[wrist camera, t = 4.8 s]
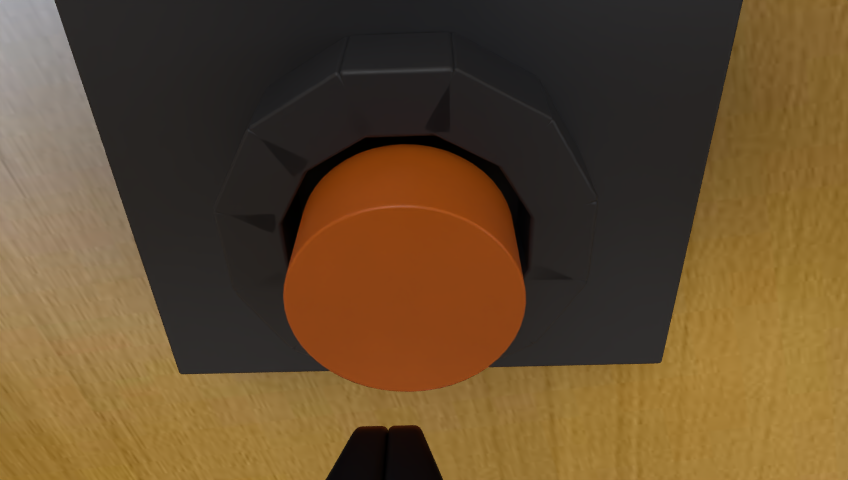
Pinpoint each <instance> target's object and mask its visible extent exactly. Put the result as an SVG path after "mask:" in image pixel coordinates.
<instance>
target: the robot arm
mask: <svg viewBox="0 0 848 480" xmlns="http://www.w3.org/2000/svg"><path fill="white" fill-rule="evenodd" d="M326 480H443V478H442V476H441V474H440V471H439V469H438V467H437V464H436V462H435V460H434V458H433V455H432V453H431V451H430V448H429V446H428V444H427V441H426V439H425V437H424V434H423V432H422V430H421V429H420V427H418V426H416V425H407V426H392V427H391V428H390V429H389V431H388V430H387V428H386V427H383V426H366V427H358V428H357V429H356V430H355V431H354V432H353V434H352V435H351V437H350V439H349V440H348V442H347V444H346V446H345V447H344V449H343V451H342V453H341V454H340V456H339V458H338V459H337V461H336V463H335V465H334V466H333V468H332V470H331V471H330V473H329V475H328V477H327V478H326Z"/></svg>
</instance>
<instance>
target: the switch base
mask: <svg viewBox="0 0 848 480" xmlns="http://www.w3.org/2000/svg"><path fill="white" fill-rule="evenodd" d="M742 2H743V0H55V3H56V6H57V9H58V12H59V15H60V18H61V21H62V24H63V27H64V30H65V33H66V36H67V39H68V42H69V45H70V48H71V51H72V54H73V57H74V60H75V63H76V66H77V69H78V72H79V75H80V78H81V81H82V84H83V87H84V90H85V93H86V96H87V99H88V102H89V104H90V107H91V110H92V113H93V116H94V119H95V122H96V125H97V128H98V131H99V134H100V137H101V140H102V143H103V146H104V149H105V152H106V155H107V158H108V161H109V164H110V167H111V170H112V173H113V176H114V179H115V182H116V185H117V188H118V191H119V194H120V197H121V200H122V203H123V206H124V209H125V212H126V215H127V218H128V221H129V224H130V227H131V230H132V233H133V236H134V239H135V242H136V245H137V248H138V251H139V254H140V257H141V260H142V263H143V266H144V269H145V272H146V275H147V278H148V281H149V284H150V287H151V290H152V292H153V295H154V298H155V301H156V304H157V307H158V310H159V313H160V316H161V319H162V322H163V325H164V328H165V331H166V334H167V337H168V340H169V343H170V346H171V349H172V352H173V355H174V358H175V361H176V364H177V367H178V370H179V373H180V374H213V373H257V372H301V371H330V370H328V369H327V368H325V367H324V366H322V365H321V364H320V363H318V362H317V361H316V360H315V359H314V358H313V357H312V356H310V355H309V354H308V353H307V351H306V350H305V349H304V348H303V347H302V346H301V345H300V343H299V341H298V340H297V338H296V337H295V335H294V334H293V332H292V329H291V327H290V325H289V323H288V320H287V317H286V313H285V310H284V301H283V290H284V282H285V278H286V274H287V270H288V266H289V262H290V259H291V255H292V251H293V248H294V244H295V240H296V237H297V233H298V230H299V226H300V222H301V219H302V215H303V211H304V208H305V205H306V203H307V201H308V198H309V196H310V194H311V193H312V191H313V190H314V188H315V186H316V185H317V184H318V183H319V182H320V180H321V179H322V178H323V177H324V176H325V175H326V174H327V173H328V172H329V171H330V170H332V169H333V168H334V167H335V166H337V165H338V164H340V163H341V162H343V161H344V160H346V159H348V158H350V157H352V156H354V155H356V154H358V153H361V152H364V151H367V150H370V149H372V148H377V147H382V146H387V145H397V144H417V145H424V146H430V147H435V148H438V149H442V150H446V151H448V152H451V153H453V154H456V155H458V156H460V157H462V158H464V159H466V160H467V161H469V162H471V163H473V164H474V165H475V166H477V167H478V168H479V169H481V170H482V171H483V172H484V173H485V174H486V175H487V176H488V177H490V178H491V179H492V180H493V182H494V183H495V184H496V185H497V187H498V188H499V189H500V191H501V192H502V194H503V196H504V198H505V200H506V201H507V204H508V206H509V209H510V212H511V215H512V220H513V226H514V231H515V236H516V242H517V247H518V252H519V258H520V263H521V268H522V274H523V279H524V284H525V290H526V307H525V314H524V318H523V321H522V324H521V327H520V329H519V331H518V333H517V335H516V337H515V339H514V340H513V342H512V343H511V345H510V346H509V347H508V349H507V350H506V351H505V352H504V353H503V354H502V355H501V356H500V357H499V359H497V360H496V361H495V362H494V363H493V364H491V365H490V366H489V367H519V366H563V365H607V364H650V363H661V361H662V357H663V353H664V348H665V344H666V339H667V335H668V330H669V326H670V322H671V317H672V313H673V308H674V304H675V299H676V295H677V290H678V286H679V282H680V277H681V273H682V268H683V264H684V259H685V255H686V251H687V246H688V242H689V237H690V233H691V228H692V224H693V219H694V215H695V211H696V206H697V202H698V197H699V193H700V188H701V184H702V179H703V175H704V171H705V166H706V162H707V157H708V153H709V148H710V144H711V140H712V135H713V131H714V126H715V122H716V117H717V113H718V108H719V104H720V100H721V95H722V91H723V86H724V82H725V77H726V73H727V69H728V64H729V60H730V55H731V51H732V46H733V42H734V37H735V33H736V29H737V24H738V20H739V15H740V11H741V6H742Z"/></svg>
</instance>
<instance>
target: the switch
mask: <svg viewBox="0 0 848 480" xmlns="http://www.w3.org/2000/svg"><path fill="white" fill-rule="evenodd" d="M283 301H284V310H285V313H286V317H287V320H288V323H289V325H290V327H291V329H292V332H293V334H294V335H295V337H296V338H297V340H298V341H299V343H300V345H301V346H302V347H303V348H304V349H305V350H306V351H307V353H308V354H309V355H310V356H312V357H313V358H314V359H315V360H316V361H317V362H318V363H320V364H321V365H322V366H324V367H325V368H327V369H328V370H330V371H331V372H333V373H335V374H337V375H339V376H340V377H342V378H345V379H347V380H350V381H352V382H354V383H357V384H361V385H364V386H367V387H372V388H376V389H381V390H389V391H405V392H412V391H425V390H432V389H438V388H442V387H446V386H450V385H453V384H456V383H458V382H461V381H464V380H466V379H468V378H470V377H472V376H474V375H476V374H478V373H480V372H481V371H483V370H484V369H486V368H487V367H489V366H490V365H491V364H493V363H494V362H495V361H496V360H497V359H499V357H500V356H501V355H502V354H503V353H504V352H505V351H506V350H507V349H508V347H509V346H510V345H511V343H512V342H513V340H514V339H515V337H516V335H517V333H518V331H519V329H520V327H521V324H522V321H523V318H524V314H525V307H526V290H525V284H524V279H523V274H522V268H521V263H520V258H519V252H518V247H517V242H516V236H515V231H514V226H513V220H512V215H511V212H510V209H509V206H508V204H507V201H506V200H505V198H504V196H503V194H502V192H501V191H500V189H499V188H498V187H497V185H496V184H495V183H494V182H493V180H492V179H491V178H490V177H488V176H487V175H486V174H485V173H484V172H483V171H482V170H481V169H479V168H478V167H477V166H475V165H474V164H473V163H471V162H469V161H467V160H466V159H464V158H462V157H460V156H458V155H456V154H453V153H451V152H448V151H446V150H442V149H438V148H435V147H430V146H424V145H417V144H397V145H387V146H382V147H377V148H372V149H370V150H367V151H364V152H361V153H358V154H356V155H354V156H352V157H350V158H348V159H346V160H344V161H343V162H341V163H340V164H338V165H337V166H335V167H334V168H333V169H332V170H330V171H329V172H328V173H327V174H326V175H325V176H324V177H323V178H322V179H321V180H320V182H319V183H318V184H317V185H316V186H315V188H314V190H313V191H312V193H311V194H310V196H309V198H308V201H307V203H306V205H305V208H304V211H303V215H302V219H301V222H300V226H299V230H298V233H297V237H296V240H295V244H294V248H293V251H292V255H291V259H290V262H289V266H288V270H287V274H286V278H285V282H284V290H283Z"/></svg>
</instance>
